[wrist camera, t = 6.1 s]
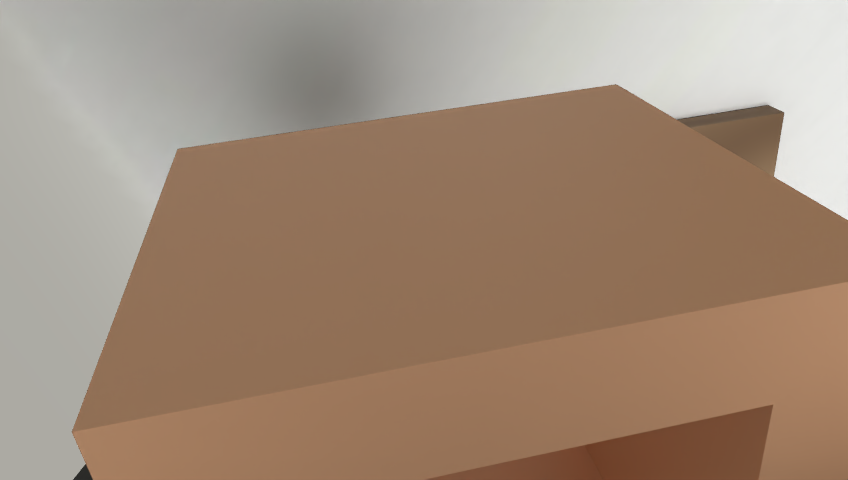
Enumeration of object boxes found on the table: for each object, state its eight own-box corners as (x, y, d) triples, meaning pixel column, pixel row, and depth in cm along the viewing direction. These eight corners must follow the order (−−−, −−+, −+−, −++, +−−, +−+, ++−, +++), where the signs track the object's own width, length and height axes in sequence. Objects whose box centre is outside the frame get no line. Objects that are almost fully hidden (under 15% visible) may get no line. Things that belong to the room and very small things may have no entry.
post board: (487, 149, 31) (549, 228, 24) (768, 105, 33) (903, 166, 26) (500, 386, 38) (551, 502, 31) (732, 338, 40) (832, 438, 33)
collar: (177, 148, 12) (70, 431, 6) (616, 84, 13) (927, 266, 7) (269, 479, 16) (264, 863, 9) (602, 410, 17) (791, 715, 10)
